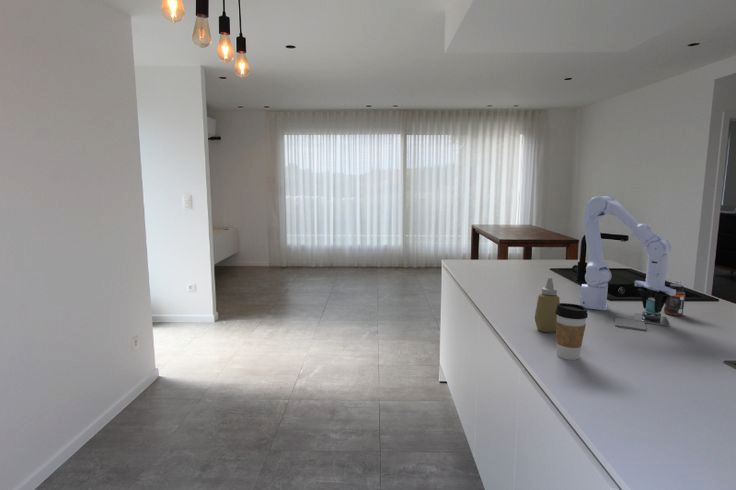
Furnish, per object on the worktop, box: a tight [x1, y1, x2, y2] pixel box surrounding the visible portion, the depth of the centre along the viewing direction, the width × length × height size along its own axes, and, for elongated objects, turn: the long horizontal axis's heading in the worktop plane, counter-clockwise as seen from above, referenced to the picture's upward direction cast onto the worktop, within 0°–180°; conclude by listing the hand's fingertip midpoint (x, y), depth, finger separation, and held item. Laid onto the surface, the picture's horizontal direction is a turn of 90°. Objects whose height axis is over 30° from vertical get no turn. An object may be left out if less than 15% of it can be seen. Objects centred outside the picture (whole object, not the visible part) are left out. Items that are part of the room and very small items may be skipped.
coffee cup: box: [555, 302, 589, 361], centre depth 123 cm, size 8×8×15 cm
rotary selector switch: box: [633, 310, 670, 327], centre depth 155 cm, size 10×10×3 cm
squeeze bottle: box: [534, 277, 561, 333], centre depth 143 cm, size 8×8×18 cm
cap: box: [643, 297, 661, 314], centre depth 155 cm, size 5×5×5 cm
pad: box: [614, 317, 647, 332], centre depth 150 cm, size 9×9×1 cm
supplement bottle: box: [663, 283, 686, 317], centre depth 162 cm, size 6×6×11 cm
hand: (652, 309), depth 155 cm, fingers closed on cap, 4 cm apart
